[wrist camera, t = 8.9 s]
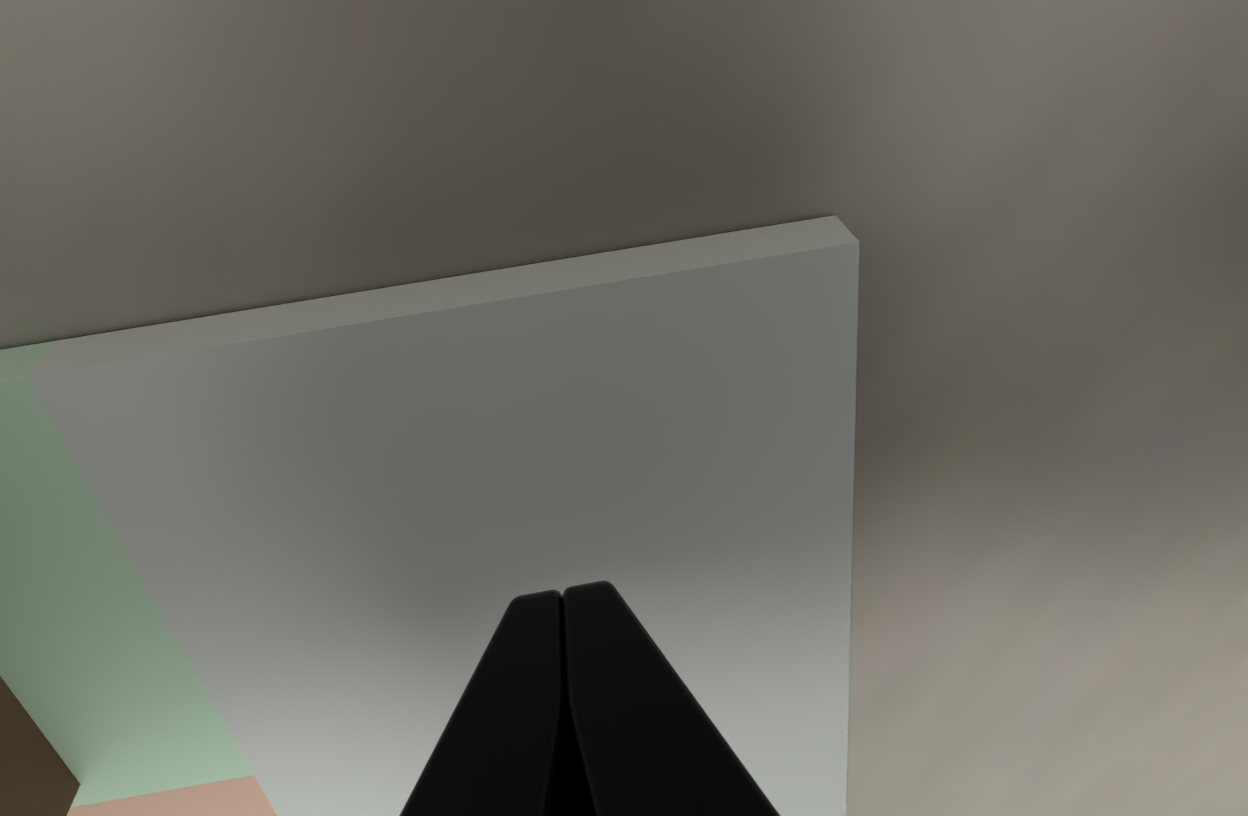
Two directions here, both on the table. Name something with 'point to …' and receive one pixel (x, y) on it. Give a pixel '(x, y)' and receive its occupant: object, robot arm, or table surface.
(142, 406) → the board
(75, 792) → the walnut cube
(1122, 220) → the table surface
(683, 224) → the table surface
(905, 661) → the table surface
